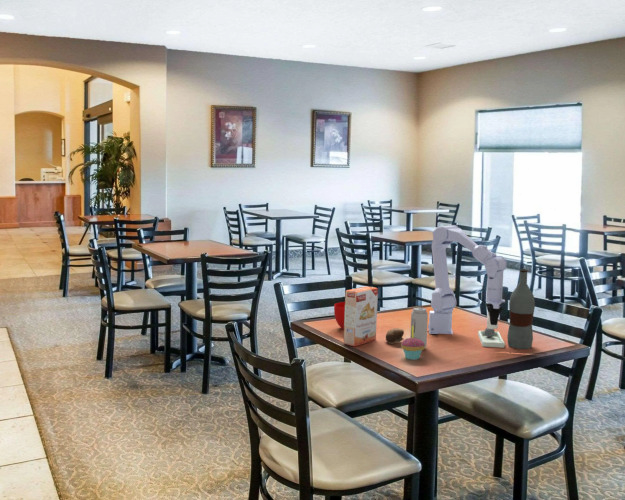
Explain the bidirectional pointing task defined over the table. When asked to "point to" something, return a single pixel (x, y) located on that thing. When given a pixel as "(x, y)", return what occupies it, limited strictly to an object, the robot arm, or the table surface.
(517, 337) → the bottle
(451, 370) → the table surface
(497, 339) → the tray
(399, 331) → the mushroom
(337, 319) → the ceramic cup
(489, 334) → the ball
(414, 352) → the cupcake
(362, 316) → the cracker box
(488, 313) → the shaker
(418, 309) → the energy drink can
